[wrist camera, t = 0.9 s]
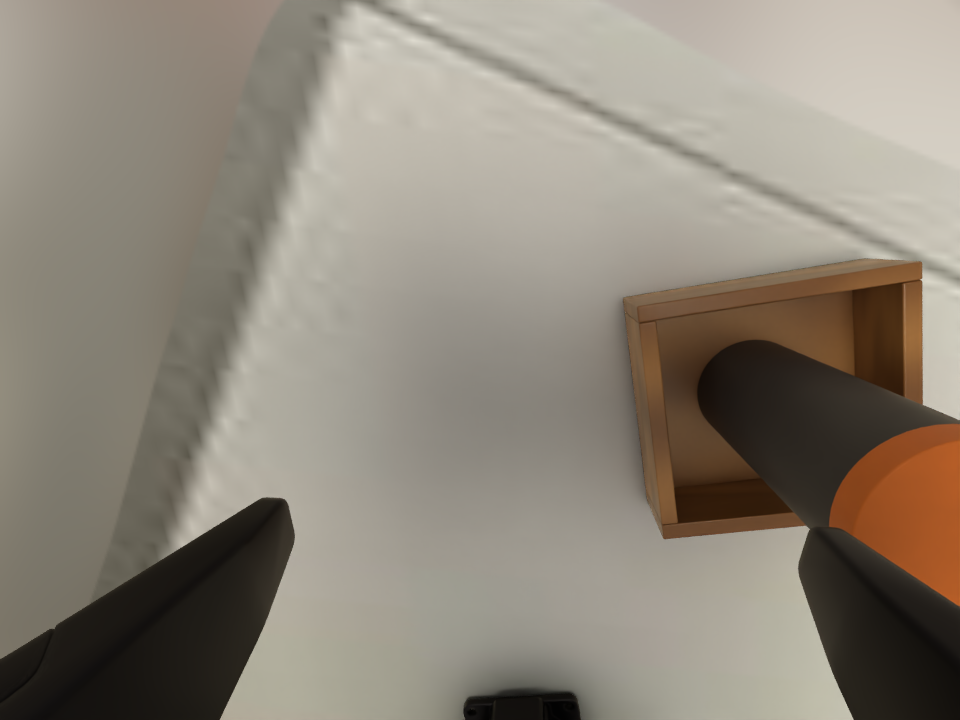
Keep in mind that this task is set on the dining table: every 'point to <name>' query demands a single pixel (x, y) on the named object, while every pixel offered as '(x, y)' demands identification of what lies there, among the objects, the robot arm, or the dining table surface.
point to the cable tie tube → (844, 453)
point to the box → (757, 316)
